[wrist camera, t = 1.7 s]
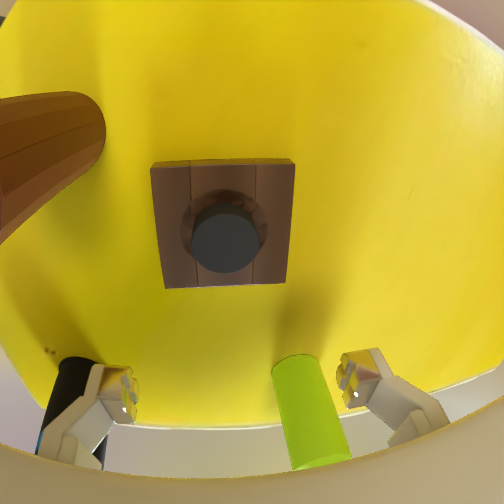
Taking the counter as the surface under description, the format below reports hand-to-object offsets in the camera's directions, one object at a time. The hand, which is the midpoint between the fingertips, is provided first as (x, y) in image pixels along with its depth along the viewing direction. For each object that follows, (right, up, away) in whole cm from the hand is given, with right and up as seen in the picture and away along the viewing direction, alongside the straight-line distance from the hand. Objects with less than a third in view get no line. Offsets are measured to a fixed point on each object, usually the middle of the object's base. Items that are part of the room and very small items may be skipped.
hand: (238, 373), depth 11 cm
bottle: (-13, +13, +8) cm, 20 cm away
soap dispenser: (+6, -10, +24) cm, 27 cm away
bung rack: (-2, +7, +13) cm, 15 cm away
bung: (-2, +7, +13) cm, 15 cm away
